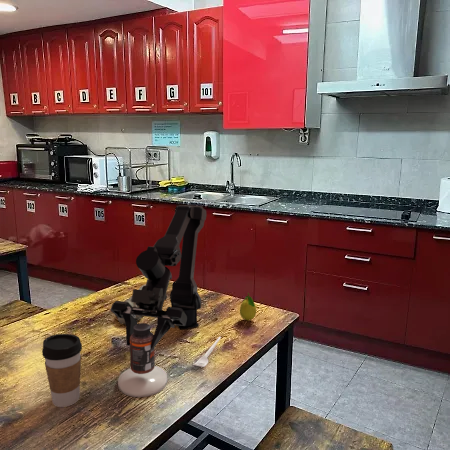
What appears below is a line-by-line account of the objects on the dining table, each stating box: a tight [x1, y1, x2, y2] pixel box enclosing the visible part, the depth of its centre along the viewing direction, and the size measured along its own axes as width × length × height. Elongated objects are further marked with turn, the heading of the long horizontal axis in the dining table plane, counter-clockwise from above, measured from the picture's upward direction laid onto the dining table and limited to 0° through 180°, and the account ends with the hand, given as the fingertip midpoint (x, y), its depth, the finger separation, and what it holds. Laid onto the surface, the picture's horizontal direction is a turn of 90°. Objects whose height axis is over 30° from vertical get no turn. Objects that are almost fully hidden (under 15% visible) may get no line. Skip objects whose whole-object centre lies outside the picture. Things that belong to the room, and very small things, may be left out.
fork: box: [192, 336, 222, 368], centre depth 118 cm, size 3×20×2 cm, turn 162°
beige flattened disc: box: [117, 365, 168, 398], centre depth 104 cm, size 12×12×1 cm
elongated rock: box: [116, 283, 146, 325], centre depth 151 cm, size 35×5×10 cm
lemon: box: [239, 292, 257, 322], centre depth 138 cm, size 7×6×10 cm
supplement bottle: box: [129, 322, 156, 374], centre depth 102 cm, size 6×6×11 cm
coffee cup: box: [41, 333, 83, 408], centre depth 95 cm, size 8×8×15 cm
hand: (139, 346), depth 100 cm, fingers closed on supplement bottle, 6 cm apart
